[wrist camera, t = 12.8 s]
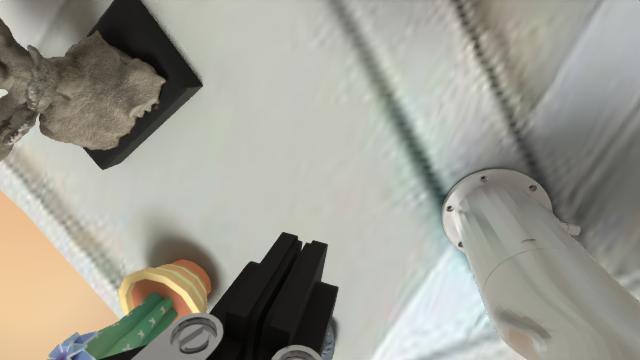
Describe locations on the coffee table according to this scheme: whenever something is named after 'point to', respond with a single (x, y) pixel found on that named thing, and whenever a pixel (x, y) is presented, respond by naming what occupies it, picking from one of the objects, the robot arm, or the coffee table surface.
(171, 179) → the coffee table surface
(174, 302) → the potted cactus
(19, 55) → the coral
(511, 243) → the robot arm
